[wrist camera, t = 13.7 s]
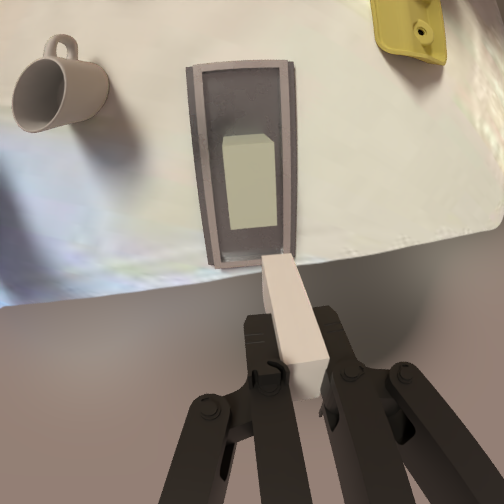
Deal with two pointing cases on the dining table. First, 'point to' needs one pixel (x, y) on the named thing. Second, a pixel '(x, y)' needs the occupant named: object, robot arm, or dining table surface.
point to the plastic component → (410, 29)
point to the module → (250, 180)
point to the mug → (58, 89)
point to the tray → (243, 123)
